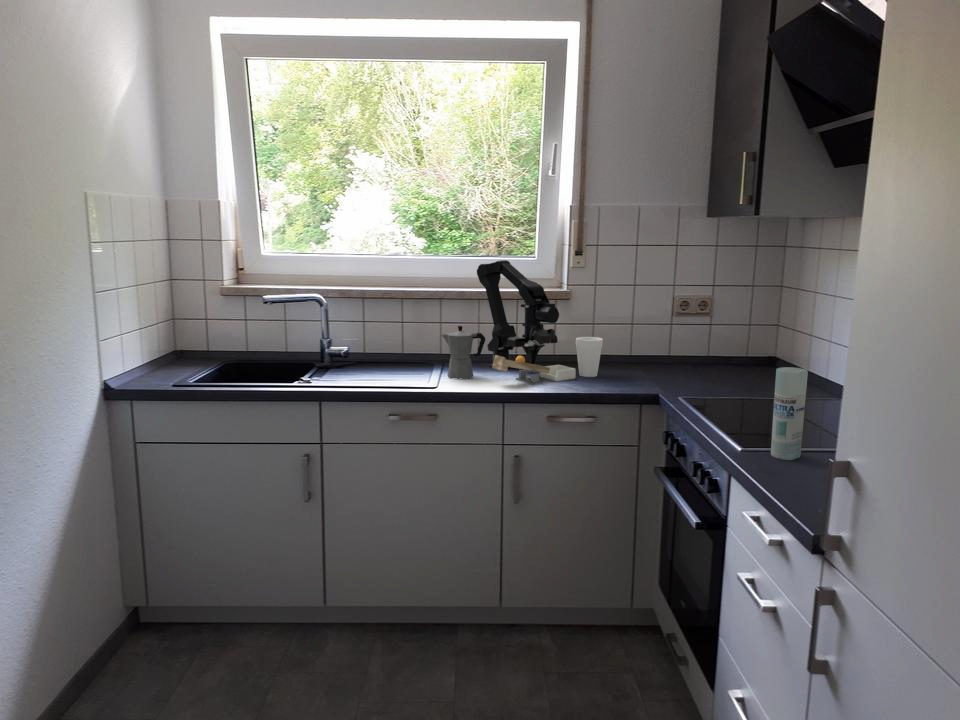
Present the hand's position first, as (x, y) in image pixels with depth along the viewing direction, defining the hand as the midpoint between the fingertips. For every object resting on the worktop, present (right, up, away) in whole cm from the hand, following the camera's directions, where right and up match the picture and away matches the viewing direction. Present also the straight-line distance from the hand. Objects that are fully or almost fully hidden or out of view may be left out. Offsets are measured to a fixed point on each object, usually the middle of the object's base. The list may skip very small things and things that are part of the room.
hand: (532, 364), depth 259 cm
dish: (+8, -5, -7) cm, 12 cm away
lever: (-6, -3, -10) cm, 12 cm away
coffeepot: (-24, -5, -5) cm, 25 cm away
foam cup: (+20, -4, -2) cm, 20 cm away
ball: (-5, +1, -16) cm, 17 cm away
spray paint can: (+51, -21, -94) cm, 109 cm away
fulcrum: (-2, -6, -13) cm, 14 cm away
